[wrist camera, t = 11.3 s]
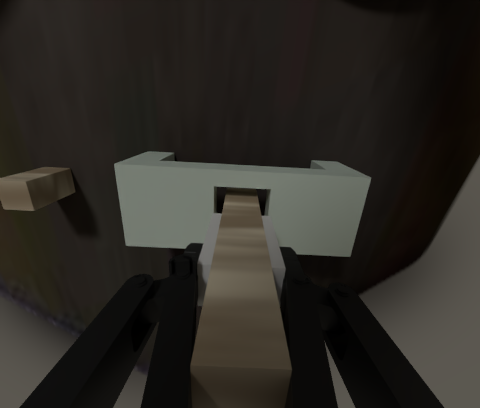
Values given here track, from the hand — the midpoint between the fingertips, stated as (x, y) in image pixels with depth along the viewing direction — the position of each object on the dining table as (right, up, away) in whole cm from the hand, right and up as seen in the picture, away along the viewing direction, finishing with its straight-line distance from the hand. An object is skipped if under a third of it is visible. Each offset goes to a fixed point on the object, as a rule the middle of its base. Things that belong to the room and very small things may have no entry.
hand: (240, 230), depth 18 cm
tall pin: (0, +2, +6) cm, 7 cm away
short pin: (-22, +5, +10) cm, 24 cm away
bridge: (0, +4, +10) cm, 11 cm away
